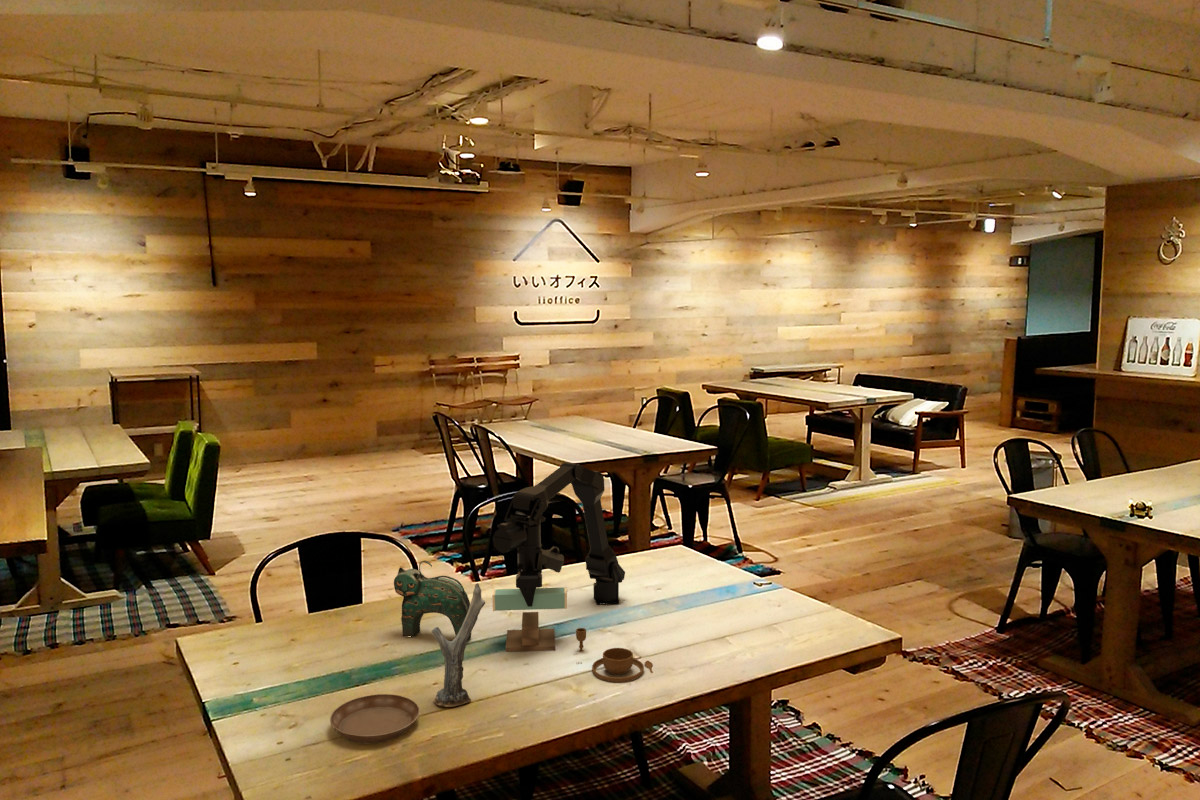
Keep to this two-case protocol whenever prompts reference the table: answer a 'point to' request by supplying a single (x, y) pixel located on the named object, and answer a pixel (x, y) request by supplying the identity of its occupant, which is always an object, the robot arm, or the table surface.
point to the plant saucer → (375, 718)
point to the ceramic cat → (430, 599)
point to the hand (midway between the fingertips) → (530, 603)
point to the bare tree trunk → (457, 655)
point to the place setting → (614, 661)
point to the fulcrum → (530, 636)
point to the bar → (542, 600)
